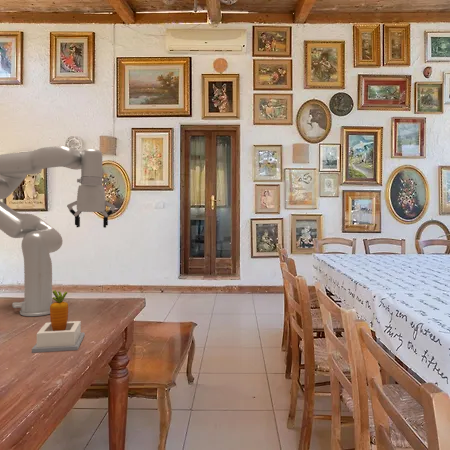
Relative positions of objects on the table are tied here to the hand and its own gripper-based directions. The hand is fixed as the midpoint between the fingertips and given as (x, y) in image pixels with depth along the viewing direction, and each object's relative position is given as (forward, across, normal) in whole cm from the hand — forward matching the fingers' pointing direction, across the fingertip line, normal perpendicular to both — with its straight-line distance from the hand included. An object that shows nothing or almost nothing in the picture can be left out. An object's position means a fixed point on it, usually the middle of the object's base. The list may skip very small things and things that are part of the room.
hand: (91, 227), depth 137 cm
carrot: (+32, -5, -31) cm, 45 cm away
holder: (+33, -4, -31) cm, 46 cm away
